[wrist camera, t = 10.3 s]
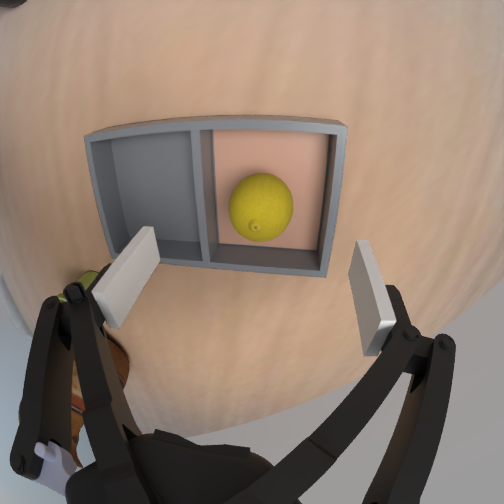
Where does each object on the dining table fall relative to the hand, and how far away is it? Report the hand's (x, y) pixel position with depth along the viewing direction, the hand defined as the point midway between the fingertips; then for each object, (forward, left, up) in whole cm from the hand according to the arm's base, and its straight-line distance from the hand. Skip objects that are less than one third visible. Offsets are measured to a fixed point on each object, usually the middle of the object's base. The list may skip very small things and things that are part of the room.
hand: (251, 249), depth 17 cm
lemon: (0, 0, -12) cm, 12 cm away
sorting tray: (0, -6, -12) cm, 14 cm away
